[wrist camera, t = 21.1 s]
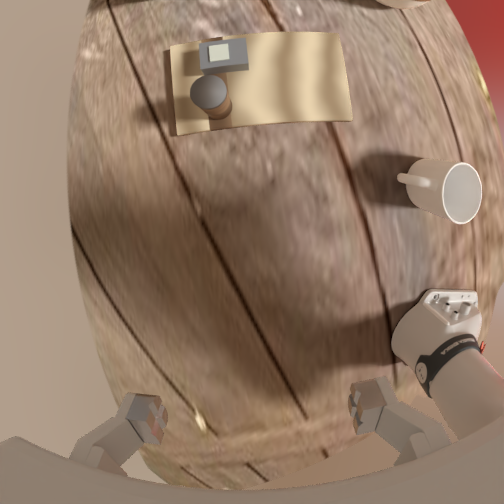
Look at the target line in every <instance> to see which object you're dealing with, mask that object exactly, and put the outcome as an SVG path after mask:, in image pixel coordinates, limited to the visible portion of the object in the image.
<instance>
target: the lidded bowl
mask: <svg viewBox="0 0 504 504" xmlns="http://www.w3.org/2000/svg"><path fill="white" fill-rule="evenodd" d="M375 1H377V2H379V3H381V4H383V5H386V6H389V7H392V8H397V9H412V8H416V7H418V6H421V5H423V4H425V3H426V2H428V1H430V0H375Z"/></svg>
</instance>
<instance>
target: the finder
mask: <svg viewBox="0 0 504 504" xmlns="http://www.w3.org/2000/svg"><path fill="white" fill-rule="evenodd" d="M199 55H200V69H201V71H202V72H203V74H204V76H205V75H211V74H218V73H226V72H235V71H246V70H249V62H248V53H247V44H246V38H236V39H227V40H219V41H212V42H205V43H199Z"/></svg>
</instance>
